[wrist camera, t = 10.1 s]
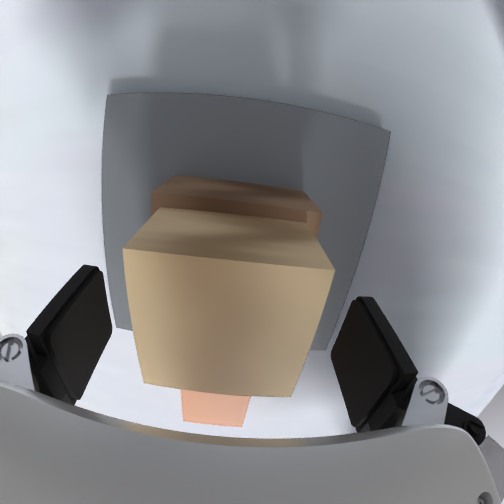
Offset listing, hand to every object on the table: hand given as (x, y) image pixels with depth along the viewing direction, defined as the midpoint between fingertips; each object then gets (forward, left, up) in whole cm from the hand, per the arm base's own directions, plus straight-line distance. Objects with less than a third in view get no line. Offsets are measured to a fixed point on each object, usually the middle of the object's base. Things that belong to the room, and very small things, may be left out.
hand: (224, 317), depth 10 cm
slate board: (0, 0, -8) cm, 8 cm away
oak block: (0, 0, -3) cm, 3 cm away
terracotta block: (-8, +11, -8) cm, 15 cm away
